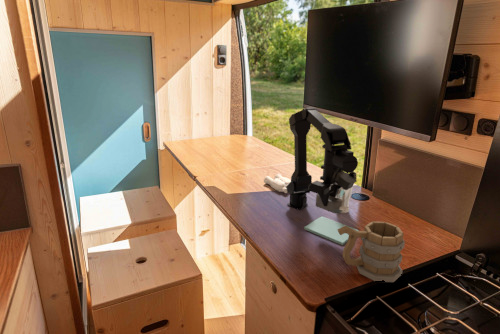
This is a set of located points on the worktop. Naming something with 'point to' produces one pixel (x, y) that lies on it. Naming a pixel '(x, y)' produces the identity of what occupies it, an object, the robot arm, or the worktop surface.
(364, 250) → the tankard
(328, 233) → the mat
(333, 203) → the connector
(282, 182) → the binoculars
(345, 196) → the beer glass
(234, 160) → the worktop surface
